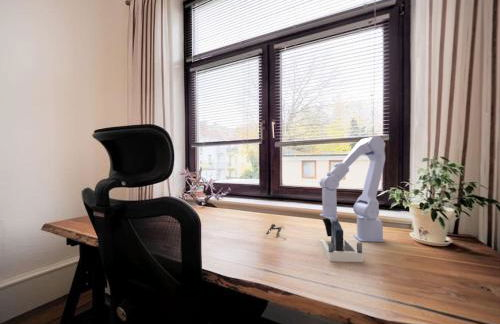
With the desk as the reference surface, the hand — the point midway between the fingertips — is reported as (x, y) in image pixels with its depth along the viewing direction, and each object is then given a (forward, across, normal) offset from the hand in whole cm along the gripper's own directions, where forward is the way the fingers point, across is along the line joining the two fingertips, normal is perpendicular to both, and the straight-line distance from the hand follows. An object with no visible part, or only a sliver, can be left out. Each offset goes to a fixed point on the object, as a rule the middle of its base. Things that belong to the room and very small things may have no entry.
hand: (330, 236), depth 97 cm
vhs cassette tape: (+2, +11, 0) cm, 11 cm away
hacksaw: (+3, -12, -22) cm, 25 cm away
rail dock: (+2, +14, 0) cm, 14 cm away
